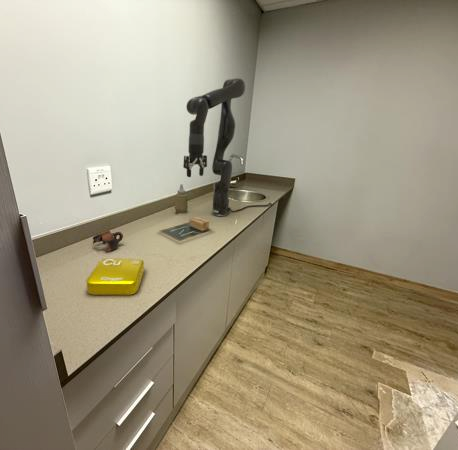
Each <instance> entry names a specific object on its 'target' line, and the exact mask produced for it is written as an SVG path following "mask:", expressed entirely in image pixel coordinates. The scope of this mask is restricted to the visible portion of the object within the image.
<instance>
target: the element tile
mask: <svg viewBox="0 0 458 450" xmlns="http://www.w3.org/2000/svg"><path fill="white" fill-rule="evenodd" d="M144 274H145V262H144V260H143V259H139V258H103V259H101V260H100V261H98V263H97V265H96V266H95V267H94V269H93V270H92V272H91V273H90V274H89V276H88V277H87V279H86V288H87V289H86V290H87V293H88V294H89V295H95V296H96V295H97V296H100V295H101V296H102V295H103V296H131V295H135V294H136V293H137V292H138V291H139V288H140V285H141V282H142V280H143V277H144Z"/></svg>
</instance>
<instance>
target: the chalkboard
mask: <svg viewBox="0 0 458 450" xmlns="http://www.w3.org/2000/svg"><path fill="white" fill-rule="evenodd" d="M189 227H190V221H189V222H185V223H182V224H178V225H174V226H171V227H167V228H164V229H159V232H161V233H162V234H164V235H165V236H168V239H170V240H171V241H173V239H174V240H176V241H178V242H182V241H184V240H188V239H190V238H194V237H196V236H200V235H203V234H205V233H208V232H211V231H213V228H209V231H206V232H203V233H200V232H198V231H196V230H193V229H191V228H189ZM169 237H170V238H169ZM171 238H172V239H171Z"/></svg>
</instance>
